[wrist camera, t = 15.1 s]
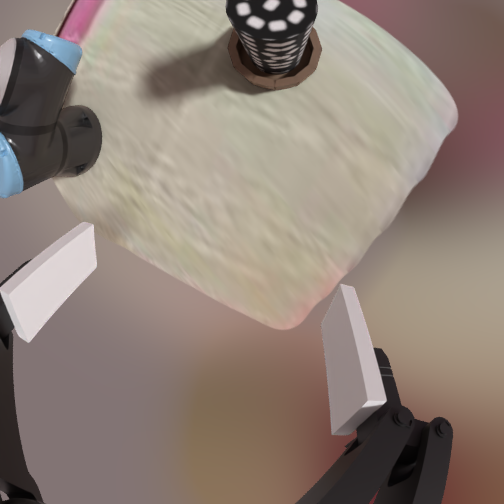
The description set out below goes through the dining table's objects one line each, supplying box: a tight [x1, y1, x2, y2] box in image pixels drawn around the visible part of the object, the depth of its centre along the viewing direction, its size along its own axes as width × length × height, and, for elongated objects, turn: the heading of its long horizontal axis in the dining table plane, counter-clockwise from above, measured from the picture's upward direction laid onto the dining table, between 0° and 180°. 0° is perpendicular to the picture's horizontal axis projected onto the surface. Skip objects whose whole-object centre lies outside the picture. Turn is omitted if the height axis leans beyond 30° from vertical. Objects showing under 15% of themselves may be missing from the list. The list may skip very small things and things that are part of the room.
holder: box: [228, 27, 322, 90], centre depth 33 cm, size 13×13×4 cm
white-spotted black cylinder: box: [226, 0, 318, 75], centre depth 25 cm, size 8×8×20 cm
